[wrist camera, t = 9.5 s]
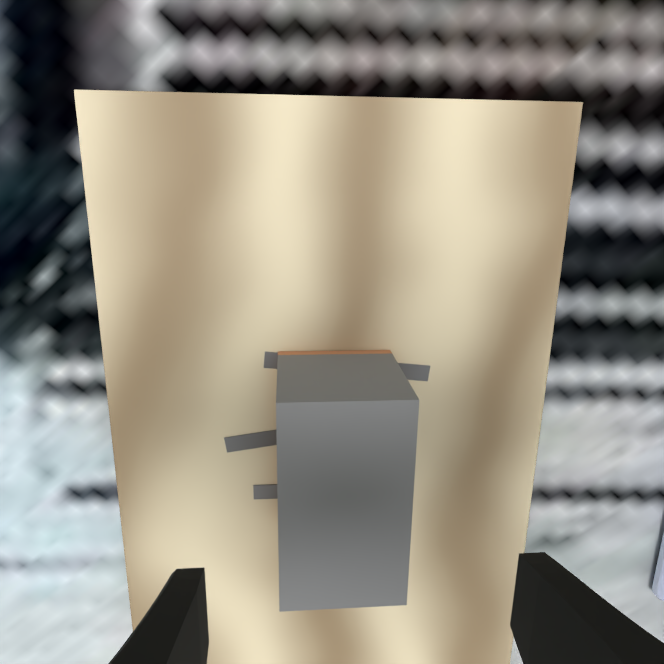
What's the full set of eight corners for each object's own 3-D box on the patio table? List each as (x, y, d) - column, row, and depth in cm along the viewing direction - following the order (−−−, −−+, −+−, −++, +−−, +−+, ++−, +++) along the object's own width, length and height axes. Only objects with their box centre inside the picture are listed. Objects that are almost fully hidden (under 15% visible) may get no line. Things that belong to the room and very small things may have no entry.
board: (560, 107, 19) (583, 102, 18) (491, 684, 27) (503, 715, 25) (90, 96, 18) (73, 89, 17) (152, 706, 25) (144, 740, 24)
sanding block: (390, 350, 20) (419, 399, 15) (382, 518, 22) (406, 605, 17) (278, 351, 19) (275, 403, 15) (280, 523, 21) (279, 611, 17)
